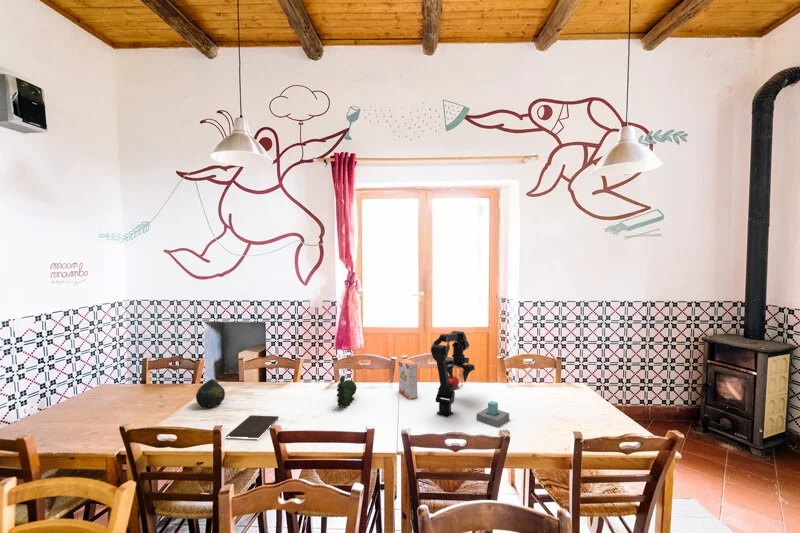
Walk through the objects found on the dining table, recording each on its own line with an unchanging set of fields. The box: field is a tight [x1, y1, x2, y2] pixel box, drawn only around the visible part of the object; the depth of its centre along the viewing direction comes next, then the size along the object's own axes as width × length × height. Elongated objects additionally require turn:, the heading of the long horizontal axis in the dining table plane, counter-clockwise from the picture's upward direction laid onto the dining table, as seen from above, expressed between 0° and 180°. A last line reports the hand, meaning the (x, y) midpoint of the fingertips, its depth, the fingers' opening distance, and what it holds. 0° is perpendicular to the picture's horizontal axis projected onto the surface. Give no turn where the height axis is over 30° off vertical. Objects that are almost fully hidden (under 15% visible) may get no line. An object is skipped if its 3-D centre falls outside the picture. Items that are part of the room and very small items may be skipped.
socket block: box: [475, 407, 510, 428], centre depth 204 cm, size 12×12×4 cm
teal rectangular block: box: [487, 400, 499, 416], centre depth 203 cm, size 4×4×8 cm
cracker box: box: [398, 357, 418, 400], centre depth 239 cm, size 14×6×21 cm, turn 25°
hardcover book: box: [225, 414, 280, 438], centre depth 196 cm, size 16×23×2 cm
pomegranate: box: [448, 375, 460, 390], centre depth 253 cm, size 10×10×9 cm
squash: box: [195, 378, 226, 408], centre depth 226 cm, size 14×15×15 cm
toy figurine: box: [336, 375, 357, 407], centre depth 229 cm, size 9×19×25 cm
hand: (458, 380), depth 227 cm, fingers open, 9 cm apart
